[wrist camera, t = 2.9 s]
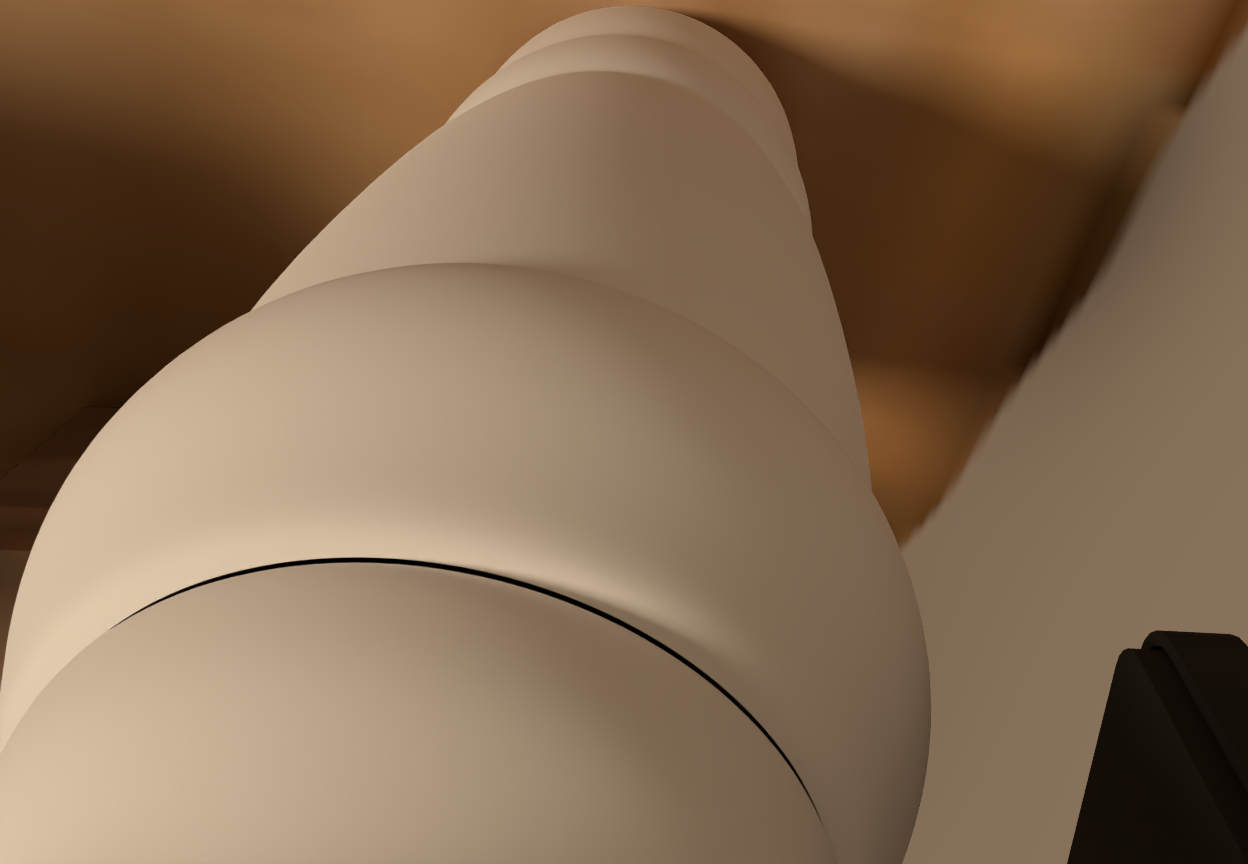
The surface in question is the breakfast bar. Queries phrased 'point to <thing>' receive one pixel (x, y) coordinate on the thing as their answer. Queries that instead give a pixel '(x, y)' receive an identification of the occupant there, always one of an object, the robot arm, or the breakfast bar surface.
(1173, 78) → the breakfast bar surface
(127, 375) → the breakfast bar surface
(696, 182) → the water bottle
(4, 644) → the small square stand
